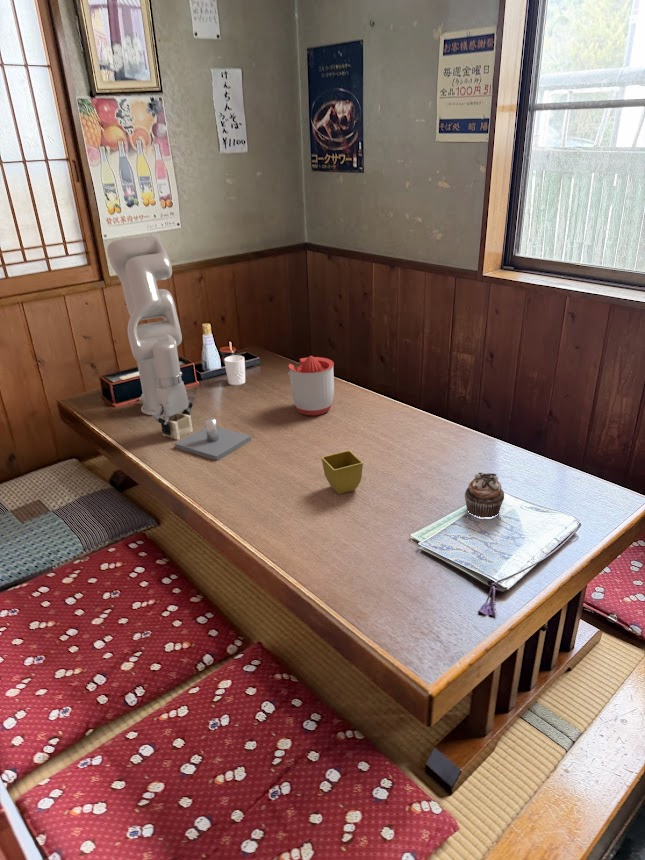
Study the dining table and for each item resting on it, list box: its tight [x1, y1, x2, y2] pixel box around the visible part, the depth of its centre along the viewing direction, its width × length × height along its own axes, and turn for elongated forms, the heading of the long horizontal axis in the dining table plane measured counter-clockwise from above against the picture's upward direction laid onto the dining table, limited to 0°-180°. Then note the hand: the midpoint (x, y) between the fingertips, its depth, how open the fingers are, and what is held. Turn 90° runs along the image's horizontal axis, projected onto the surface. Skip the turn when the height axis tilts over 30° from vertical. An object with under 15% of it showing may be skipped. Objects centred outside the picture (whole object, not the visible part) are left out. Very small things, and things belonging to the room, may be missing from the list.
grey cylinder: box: [204, 417, 219, 442], centre depth 201 cm, size 4×4×7 cm
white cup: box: [223, 354, 246, 386], centre depth 250 cm, size 8×8×10 cm
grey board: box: [174, 426, 252, 462], centre depth 203 cm, size 18×16×2 cm
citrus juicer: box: [287, 355, 335, 416], centre depth 221 cm, size 16×17×20 cm
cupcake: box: [464, 472, 505, 517], centre depth 159 cm, size 10×10×10 cm
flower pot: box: [321, 450, 364, 495], centre depth 172 cm, size 9×9×9 cm
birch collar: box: [162, 412, 194, 441], centre depth 210 cm, size 7×7×6 cm
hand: (177, 428), depth 210 cm, fingers open, 9 cm apart
